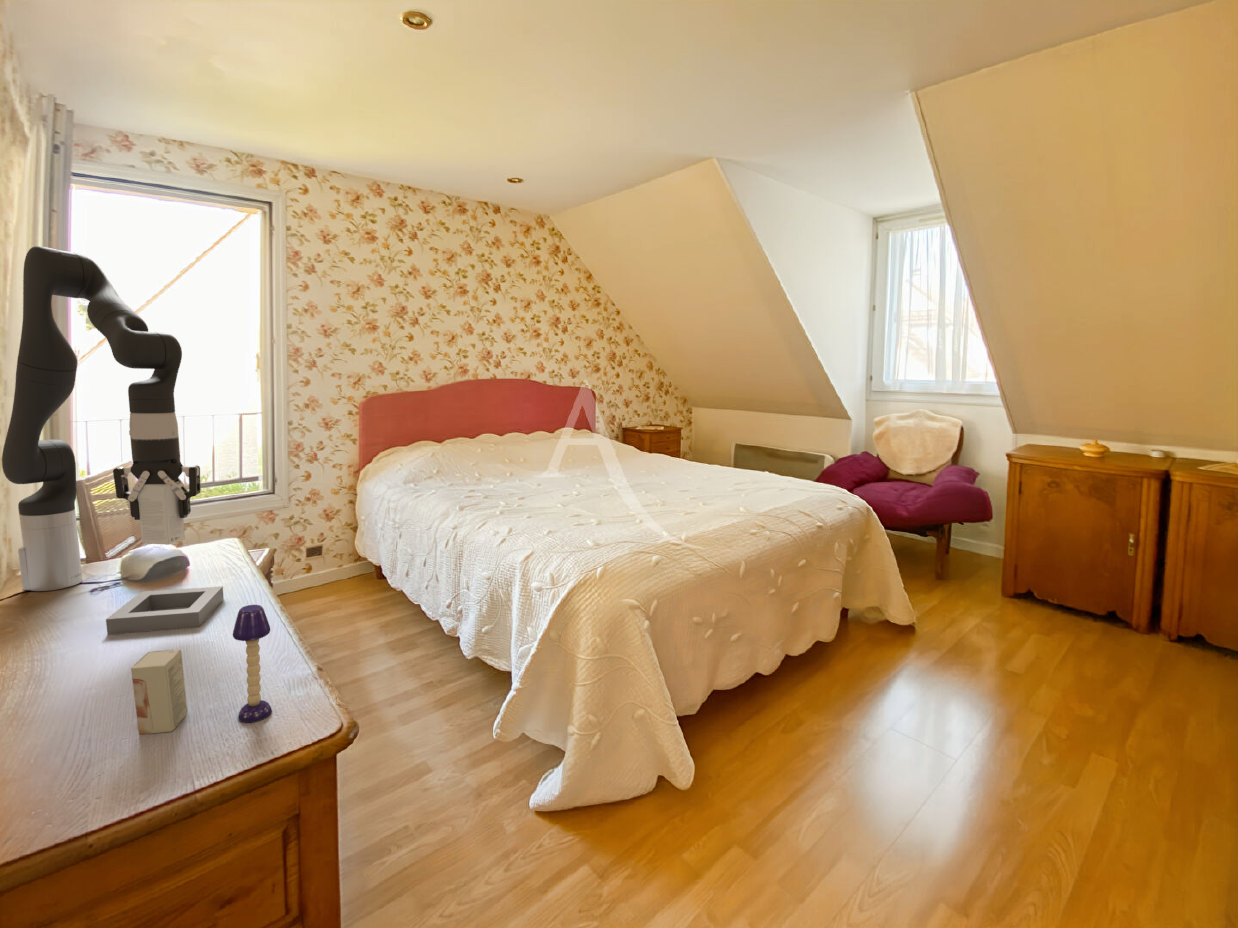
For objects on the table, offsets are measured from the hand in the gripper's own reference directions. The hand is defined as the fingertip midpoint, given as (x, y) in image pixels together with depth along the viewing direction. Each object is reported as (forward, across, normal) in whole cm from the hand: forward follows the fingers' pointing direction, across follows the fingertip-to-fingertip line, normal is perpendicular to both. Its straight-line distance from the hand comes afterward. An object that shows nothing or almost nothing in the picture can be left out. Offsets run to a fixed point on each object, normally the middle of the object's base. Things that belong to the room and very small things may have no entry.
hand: (161, 518), depth 121 cm
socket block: (+20, 0, 0) cm, 20 cm away
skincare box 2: (+21, -14, +44) cm, 51 cm away
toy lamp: (+21, -26, +45) cm, 56 cm away
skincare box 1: (+5, 0, 0) cm, 5 cm away
